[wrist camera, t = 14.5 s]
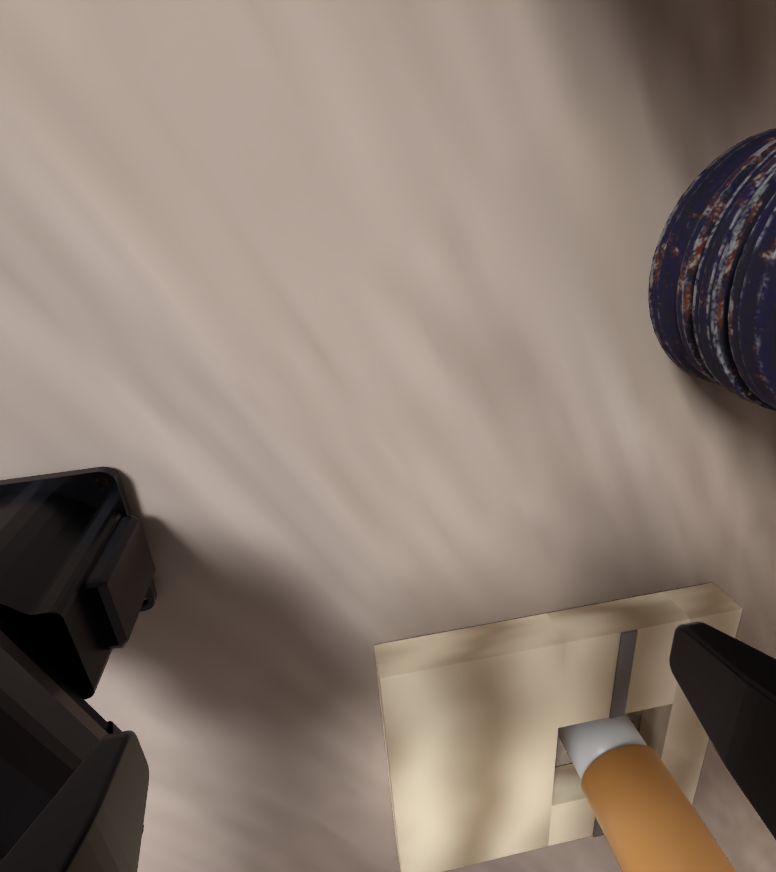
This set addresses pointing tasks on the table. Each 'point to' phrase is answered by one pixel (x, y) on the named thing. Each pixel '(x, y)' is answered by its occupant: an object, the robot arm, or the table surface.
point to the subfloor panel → (529, 721)
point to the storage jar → (722, 274)
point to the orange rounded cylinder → (639, 801)
